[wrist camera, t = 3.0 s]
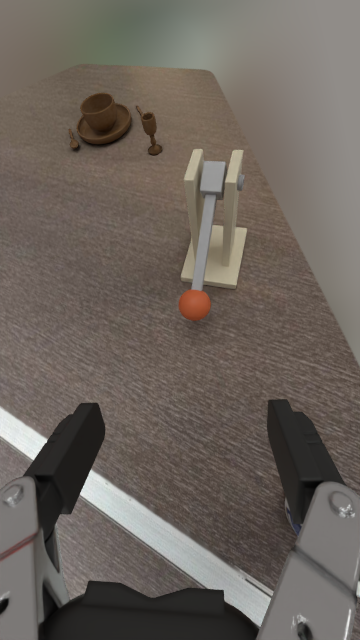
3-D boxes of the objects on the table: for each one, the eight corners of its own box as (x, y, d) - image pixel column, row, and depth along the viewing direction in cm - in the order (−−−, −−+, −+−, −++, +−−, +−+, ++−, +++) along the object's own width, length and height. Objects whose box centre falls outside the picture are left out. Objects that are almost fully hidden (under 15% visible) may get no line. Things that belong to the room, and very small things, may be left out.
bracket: (235, 289, 35) (247, 207, 21) (181, 281, 36) (160, 200, 23) (246, 233, 38) (263, 131, 24) (196, 228, 40) (185, 130, 26)
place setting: (136, 100, 56) (128, 66, 50) (166, 150, 48) (160, 116, 42) (65, 129, 55) (48, 97, 50) (83, 184, 47) (66, 154, 42)
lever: (209, 320, 29) (205, 325, 26) (180, 315, 30) (172, 319, 27) (234, 175, 26) (233, 158, 23) (201, 173, 27) (195, 157, 24)
